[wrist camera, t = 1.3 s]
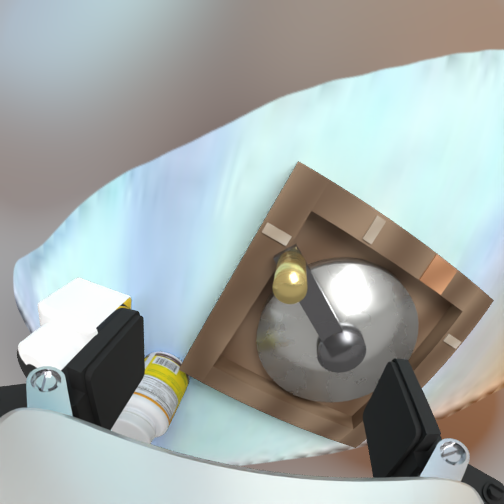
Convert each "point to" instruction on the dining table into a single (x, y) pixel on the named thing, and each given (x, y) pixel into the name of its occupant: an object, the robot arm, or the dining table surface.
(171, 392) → the supplement bottle
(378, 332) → the dial
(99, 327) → the medicine bottle
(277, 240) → the housing
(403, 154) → the dining table surface
